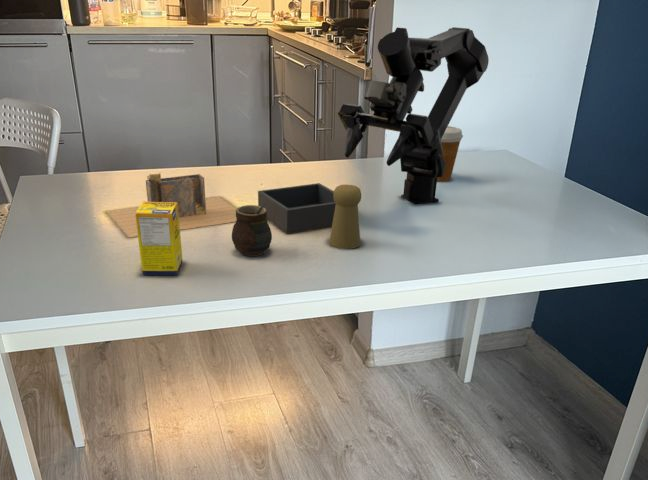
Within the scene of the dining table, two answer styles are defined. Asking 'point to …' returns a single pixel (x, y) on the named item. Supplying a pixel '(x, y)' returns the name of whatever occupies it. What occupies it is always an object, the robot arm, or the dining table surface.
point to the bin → (299, 207)
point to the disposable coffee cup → (450, 150)
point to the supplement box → (159, 238)
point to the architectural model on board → (180, 203)
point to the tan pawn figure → (346, 217)
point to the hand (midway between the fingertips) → (366, 160)
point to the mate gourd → (251, 230)
